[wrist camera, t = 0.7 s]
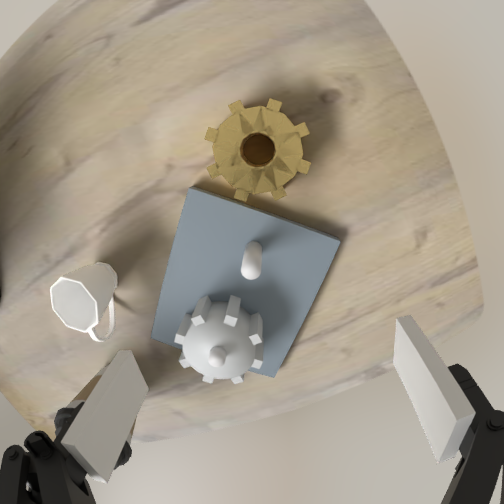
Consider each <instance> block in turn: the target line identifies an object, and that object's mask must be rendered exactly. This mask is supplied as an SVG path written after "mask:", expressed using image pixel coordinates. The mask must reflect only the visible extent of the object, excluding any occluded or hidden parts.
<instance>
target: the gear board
mask: <svg viewBox="0 0 504 504" xmlns="http://www.w3.org/2000/svg"><path fill="white" fill-rule="evenodd" d="M340 242H341V241H340V240H339V239H338V238H337V237H335V236H332V235H329V234H327V233H324V232H321V231H319V230H316V229H313V228H311V227H308V226H305V225H303V224H300V223H297V222H294V221H292V220H289V219H286V218H283V217H281V216H278V215H275V214H272V213H270V212H267V211H264V210H261V209H258V208H255V207H253V206H250V205H247V204H244V203H241V202H238V201H235V200H232V199H230V198H227V197H224V196H221V195H218V194H215V193H212V192H209V191H206V190H203V189H200V188H197V187H194V186H191V187H190V188H189V190H188V193H187V196H186V200H185V203H184V206H183V210H182V213H181V217H180V220H179V224H178V227H177V231H176V235H175V238H174V242H173V246H172V249H171V253H170V257H169V261H168V265H167V269H166V273H165V277H164V281H163V285H162V289H161V293H160V297H159V302H158V306H157V310H156V315H155V319H154V324H153V329H152V333H151V338H152V339H154V340H157V341H160V342H162V343H165V344H168V345H171V346H173V347H176V348H179V349H182V353H181V355H180V358H179V362H180V364H181V365H182V366H183V368H186V367H190V366H191V367H193V368H194V369H195V370H196V371H198V372H199V373H201V374H203V375H204V376H203V380H202V381H204V382H208V383H211V384H212V382H213V380H214V378H215V379H231V380H232V381H233V383H234V384H237V383H240V382H243V381H244V373H245V372H246V371H251V372H255V373H258V374H262V375H266V376H269V377H273V378H274V377H275V375H276V373H277V371H278V369H279V368H280V366H281V364H282V362H283V360H284V358H285V356H286V354H287V353H288V351H289V349H290V347H291V345H292V343H293V341H294V339H295V337H296V335H297V333H298V331H299V329H300V327H301V325H302V323H303V321H304V319H305V317H306V315H307V313H308V311H309V309H310V307H311V305H312V303H313V301H314V299H315V297H316V295H317V292H318V290H319V288H320V286H321V284H322V282H323V280H324V278H325V275H326V273H327V271H328V269H329V267H330V264H331V262H332V260H333V258H334V256H335V253H336V251H337V249H338V247H339V244H340Z"/></svg>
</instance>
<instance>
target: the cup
mask: <svg viewBox="0 0 504 504" xmlns="http://www.w3.org/2000/svg"><path fill="white" fill-rule="evenodd" d="M116 287H117V273H116V272H115V271H114V269H113V268H112V267H111V266H110V264H107V263H102V262H97V263H96V264H92V265H88V266H84V267H82V268H79V269H77V270H75V271H73V272H70V273H68V274H65V275H63V276H61V277H60V278H59V279H58V280H57V281H56V282H55V283H54V284H53V285H52V286H51V287H50V294H51V302H52V309H53V310H54V311H55V313H56V314H57V315H58V316H59V318H60V319H61V320H62V321H63V323H64V324H65V325H66V326H67V327H69V328H72V329H75V330H78V331H81V332H85V333H86V332H87V331H88V333H89V334H90V336H91V338H92V339H93V340H94V341H99V342H102V341H106V340H107V339H109V338H110V337H111V336H112V335H113V333H114V330H115V323H116V317H115V303H114V297H113V293H114V289H115V288H116ZM108 305H109V313H110V327H109V330H108V333H107V334H106V335H105V336H104V337H102V338H99V337H98V336H97V334H96V331H95V328H94V326H96V325H97V324H98V323H99V321H100V320H101V318H102V316H103V314H104V312H105V310H106V308H107V306H108Z"/></svg>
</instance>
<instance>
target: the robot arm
mask: <svg viewBox="0 0 504 504" xmlns="http://www.w3.org/2000/svg"><path fill="white" fill-rule="evenodd" d="M393 364H394V366H395V368H396V370H397V372H398V374H399V376H400V378H401V381H402V383H403V385H404V387H405V389H406V391H407V393H408V396H409V398H410V400H411V402H412V404H413V406H414V409H415V411H416V413H417V416H418V418H419V420H420V422H421V425H422V427H423V429H424V432H425V434H426V437H427V439H428V441H429V444H430V446H431V449H432V451H433V454H434V456H435V459H436V461H437V463H441V462H444V461H446V460H449V459H451V458H454V457H455V456H456V454H457V452H458V450H460V452H461V455H462V458H461V459H460V461H459V463H458V465H457V466H456V468H455V469H456V472H455V474H454V476H453V479H452V481H451V483H450V486H449V488H448V490H447V492H446V494H445V496H444V498H443V500H442V503H441V504H489V503H490V500H491V497H492V494H493V491H494V488H495V485H496V482H497V479H498V476H499V473H500V469H501V466H502V465H503V476H502V491H501V501H500V504H504V412H502V411H500V410H494V409H493V407H492V406H491V404H490V403H489V401H488V400H487V398H486V397H485V395H484V394H483V392H482V391H481V389H480V388H479V386H477V383H476V382H475V381H474V379H473V378H472V377H471V375H470V373H469V372H468V370H467V369H465V368H464V367H462V366H461V365H459V364H455V365H452V366H449V367H447V366H446V365H445V363H444V362H443V360H442V359H441V357H440V356H439V354H438V353H437V352H436V350H435V348H434V347H433V345H432V344H431V343H430V341H429V340H428V338H427V337H426V335H425V334H424V333H423V331H422V330H421V328H420V327H419V326H418V324H417V323H416V321H415V320H414V319H413V317H412V316H411V315H408V316H404V317H399V318H396V333H395V346H394V358H393ZM148 390H149V388H148V386H147V384H146V382H145V380H144V378H143V376H142V373H141V371H140V369H139V367H138V365H137V362H136V360H135V358H134V356H133V353H132V351H131V350H119V351H118V353H117V354H116V356H115V357H114V359H113V360H112V362H111V363H110V365H109V366H108V368H107V369H106V371H105V372H104V374H103V375H102V377H101V378H100V380H99V381H98V383H97V384H96V386H95V388H94V389H93V391H92V392H91V394H90V395H89V397H88V399H87V400H86V402H81V403H80V404H79V405H78V406H77V407H75V408H74V410H73V411H72V413H71V415H70V417H69V418H68V419H67V421H66V423H65V424H64V426H63V427H62V429H61V430H60V432H59V434H58V435H57V437H56V439H55V440H54V442H53V441H52V440H51V439H50V438H49V436H48V435H47V434H46V433H45V432H44V431H35V432H33V433H31V434H30V435H29V436H28V437H27V438H26V440H25V441H24V446H25V447H26V448H27V450H28V451H29V452H25V451H24V449H23V448H22V447H21V446H19V445H13V446H10V447H9V448H7V450H6V451H5V452H4V455H3V459H2V464H1V469H0V504H96V502H95V499H94V497H93V494H92V492H91V489H90V486H89V484H88V481H87V480H86V479H85V476H86V474H87V473H88V474H89V476H90V477H91V478H92V479H93V480H95V481H100V482H104V483H108V481H109V479H110V476H111V474H112V472H113V469H114V467H115V465H116V462H117V460H118V458H119V455H120V453H121V451H122V448H123V446H124V444H125V441H126V439H127V437H128V435H129V432H130V430H131V428H132V426H133V423H134V421H135V419H136V417H137V414H138V412H139V410H140V408H141V406H142V403H143V401H144V399H145V397H146V395H147V392H148ZM26 484H27V485H28V486H29V490H28V491H27V490H26Z"/></svg>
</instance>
